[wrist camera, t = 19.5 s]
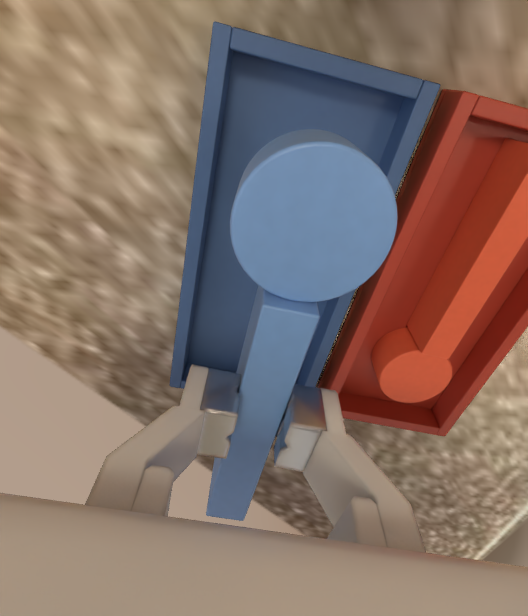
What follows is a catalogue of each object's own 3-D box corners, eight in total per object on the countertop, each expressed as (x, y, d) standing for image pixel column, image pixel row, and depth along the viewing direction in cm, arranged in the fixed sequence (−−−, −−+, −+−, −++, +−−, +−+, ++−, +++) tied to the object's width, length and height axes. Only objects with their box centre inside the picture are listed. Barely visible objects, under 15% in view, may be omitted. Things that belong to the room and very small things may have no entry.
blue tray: (422, 83, 14) (441, 84, 12) (303, 387, 22) (305, 411, 21) (221, 27, 13) (213, 20, 12) (177, 363, 22) (169, 386, 20)
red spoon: (479, 130, 14) (512, 139, 12) (563, 152, 15) (608, 164, 13) (361, 371, 21) (370, 402, 19) (420, 382, 21) (435, 414, 19)
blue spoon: (273, 467, 16) (273, 525, 14) (187, 453, 15) (175, 512, 13) (399, 149, 9) (437, 170, 7) (252, 111, 8) (246, 122, 6)
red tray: (622, 138, 15) (664, 146, 13) (433, 411, 23) (445, 437, 22) (442, 88, 14) (463, 90, 12) (315, 389, 23) (319, 414, 21)
